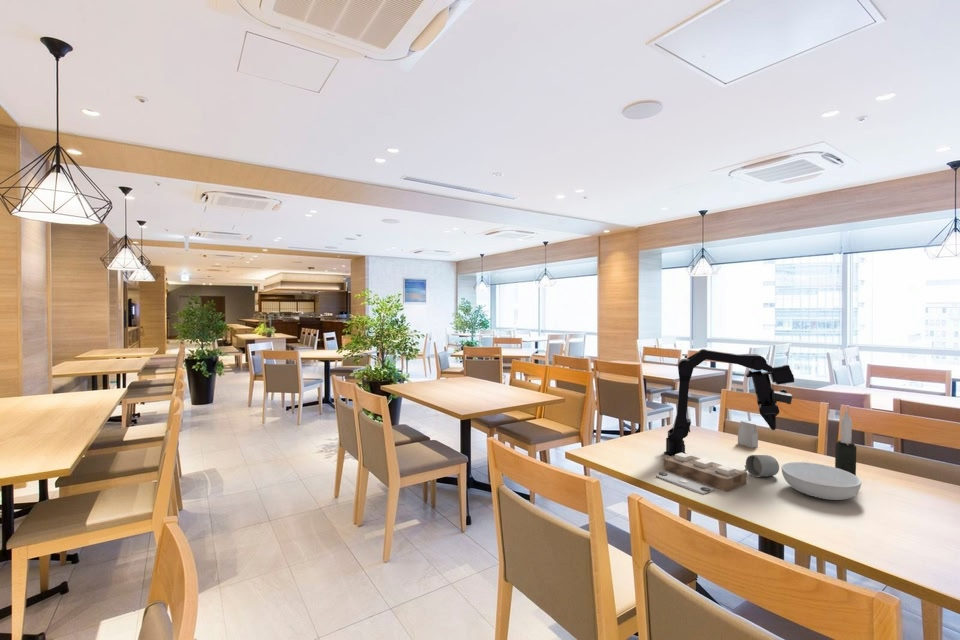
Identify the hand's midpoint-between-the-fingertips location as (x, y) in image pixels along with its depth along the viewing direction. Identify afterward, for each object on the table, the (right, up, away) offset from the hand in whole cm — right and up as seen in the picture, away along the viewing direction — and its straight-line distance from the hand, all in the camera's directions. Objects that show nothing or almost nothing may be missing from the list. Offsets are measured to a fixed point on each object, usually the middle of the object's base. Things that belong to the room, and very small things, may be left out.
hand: (772, 426), depth 171 cm
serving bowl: (-1, -16, -25) cm, 30 cm away
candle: (+17, -16, -13) cm, 27 cm away
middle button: (-32, -13, -10) cm, 36 cm away
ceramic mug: (-10, -16, -8) cm, 21 cm away
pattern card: (-42, -16, -16) cm, 48 cm away
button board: (-32, -16, -10) cm, 37 cm away
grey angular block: (+6, -15, +26) cm, 30 cm away
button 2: (-27, -13, -17) cm, 35 cm away
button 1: (-36, -13, -3) cm, 38 cm away
